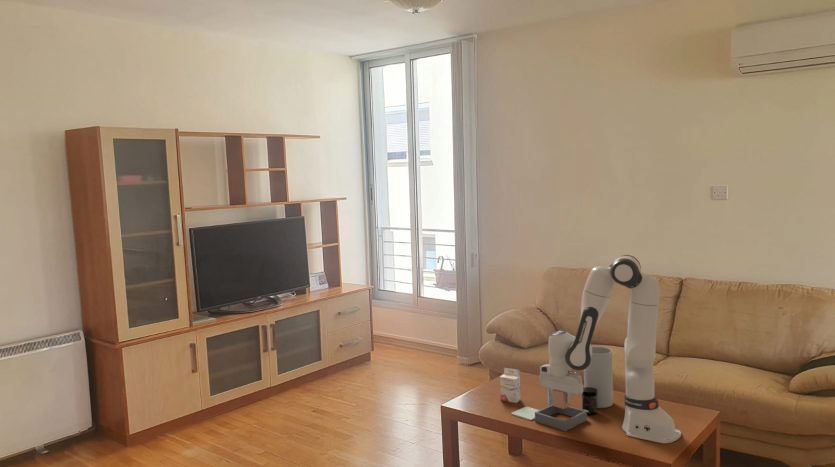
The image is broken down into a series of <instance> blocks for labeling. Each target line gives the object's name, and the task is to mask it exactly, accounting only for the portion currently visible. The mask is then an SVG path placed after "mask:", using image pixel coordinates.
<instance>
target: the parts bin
mask: <svg viewBox="0 0 835 467" xmlns="http://www.w3.org/2000/svg"><path fill="white" fill-rule="evenodd" d="M538 410H539V411H537V412H535V419H534V422H536V423H539V424H542V425H545V426H548V427H551V428H554V429H558V430H561V431H563V432H568V431H569V430H571V429H573V428H575V427H577V426H579V425H580V424H583V423H585V422H587V421H588V415H587V411H584V410H582V408H581V409H580V408H577V407H574V406H571V405H570V406H568V407H566V408H564V409H562V408H558V407H555V406H554V404H552V405H550V406H549V405H548V406H545V407H544V408H541V409H538ZM556 413H558V414H561V415H562V414H563V415H565V416H568V417H570V418H568V419H566V420H563V419H560V418H557V417H553V416H552V415H554V414H556Z"/></svg>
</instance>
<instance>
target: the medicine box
mask: <svg viewBox="0 0 835 467" xmlns="http://www.w3.org/2000/svg"><path fill="white" fill-rule="evenodd" d="M552 404H554V400H553V395H552V393H551V391H550V388H547V405H548V406H550V405H552Z"/></svg>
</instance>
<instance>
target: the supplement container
mask: <svg viewBox="0 0 835 467" xmlns="http://www.w3.org/2000/svg"><path fill="white" fill-rule="evenodd" d="M581 410H584V411H587V416H594V415H596V414H598V413H599V412H598V410H599V408H598V402H597V389H595V388H592V387H585V388H584V387H583V393H582V394H581Z"/></svg>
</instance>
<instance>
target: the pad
mask: <svg viewBox="0 0 835 467" xmlns="http://www.w3.org/2000/svg"><path fill="white" fill-rule="evenodd" d="M539 410H540V409H537V408H532V407H531V406H524V407H521V408H520V409H519V408H518V409H517V410H515V411H513V412H510V414H511V416H512V415H513V416H514V417H518V418H521V419H524V420H527V421H530V422H531V421H535V412H537V411H539Z"/></svg>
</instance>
